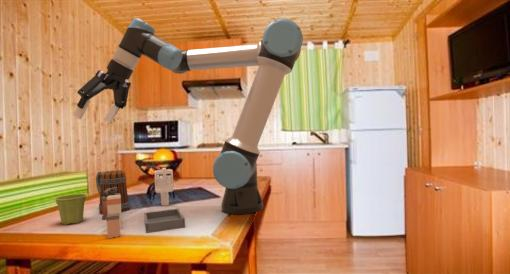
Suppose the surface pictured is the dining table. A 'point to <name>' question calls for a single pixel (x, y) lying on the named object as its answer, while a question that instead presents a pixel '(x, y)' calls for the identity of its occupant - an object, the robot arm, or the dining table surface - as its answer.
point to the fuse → (114, 206)
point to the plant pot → (71, 207)
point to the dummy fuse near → (113, 225)
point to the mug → (111, 181)
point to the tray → (163, 220)
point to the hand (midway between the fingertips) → (92, 119)
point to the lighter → (104, 200)
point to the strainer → (164, 185)
